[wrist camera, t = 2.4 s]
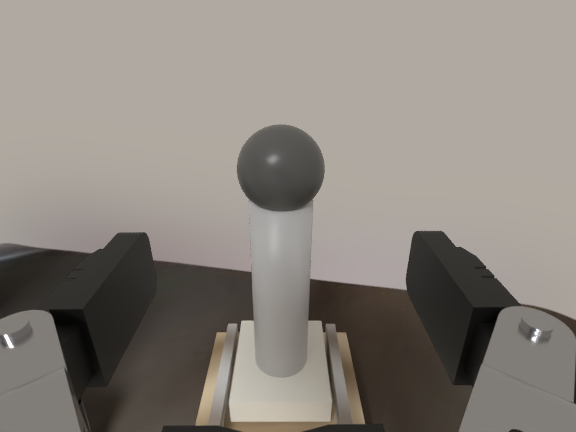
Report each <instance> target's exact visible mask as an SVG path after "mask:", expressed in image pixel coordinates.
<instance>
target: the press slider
mask: <svg viewBox="0 0 576 432" xmlns="http://www.w3.org/2000/svg"><path fill="white" fill-rule="evenodd" d="M324 172H325V171H324V159H323V156H322V153H321V150H320V149H319V147H318V145H317V144H316V142H315V141H314V140H313V138H312V137H310V136H309V135H308V134H307V133H306V132H304V131H303V130H301V129H299V128H296V127H293V126H290V125H272V126H268V127H265V128H263V129H261V130H259V131H257V132H256V133H254V134H253V135H252V136H251V137H250V138H249V139H248V140H247V141H246V143H245V144H244V146H243V147H242V149H241V152H240V154H239V157H238V163H237V174H238V180H239V183H240V186H241V188H242V190H243V192H244V193H245V195H246V196H247V197H248V199H249V223H250V246H251V266H252V267H251V268H252V292H253V315H254V321H242V322H241V328H240V335H239V341H238V347H237V354H236V360H235V367H234V373H233V380H232V386H231V392H230V399H229V408H230V419H231V422H330V420H331V408H332V398H331V391H330V383H329V375H328V368H327V360H326V352H325V345H324V337H323V329H322V322H321V321H308V316H309V291H310V266H311V265H310V264H311V241H312V217H313V198H314V197H315V195H316V194H317V193H318V191H319V189H320V187H321V185H322V182H323V178H324Z"/></svg>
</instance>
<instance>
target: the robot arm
mask: <svg viewBox="0 0 576 432" xmlns="http://www.w3.org/2000/svg"><path fill="white" fill-rule="evenodd" d="M406 286H407V292H408V295H409V297H410V299H411V301H412V303H413V305H414V307H415V309H416V311H417V313H418V315H419V317H420V319H421V321H422V323H423V325H424V327H425V329H426V332H427V334H428V336H429V338H430V340H431V342H432V344H433V346H434V348H435V350H436V352H437V354H438V356H439V358H440V360H441V362H442V364H443V366H444V368H445V370H446V372H447V374H448V376H449V378H450V380H451V382H452V384H453V385H472V387H473V390H472V393H471V396H470V399H469V402H468V405H467V408H466V411H465V414H464V417H463V420H462V423H461V426H460V429H459V432H576V338H575V335H574V334H573V332H572V331H571V330H570V328H569V327H568V326H566V325H565V324H564V323H563V322H561V321H560V320H558V319H557V318H555V317H553V316H552V315H549V314H547V313H545V312H542V311H540V310H537V309H533V308H529V307H522V306H521V305H520V304H519V303H518V302H517V300H516V299H515V298H514V297H513V296H512V295H511V294H510V293H509V292H508V291H507V289H506V288H505V287H504V286H503V285H502V284H501V283H500V282H499V281H498V280H497V279H496V278H494V275H493V274H492V273H491V272H490V271H489V270H488V269H486V266H485V265H484V264H483V263H482V262H481V261H480V260H479V259H478V258H477V257H476V256H475V255H473V254H472V253H470V252H468V251H467V250H465V249H463V248H461V247H456V246H455V245H454V244H453V243H452V242H451V240H450V239H449V238H448V237H447V236H446V235H445V233H444V232H442V231H416V232H415V233H414V235H413V237H412V243H411V250H410V255H409V262H408V268H407V274H406ZM155 291H156V274H155V268H154V263H153V258H152V252H151V247H150V242H149V238H148V236H147V234H146V233H144V232H143V233H141V232H139V233H118V234H116V235H115V236H114V238H113V239H112V240H111V241H110V242H109V243H108V244H107V245H106V246H105V248H104V249H99V250H97V251H95V252H94V253H92V254H90V255H89V256H87V257H85V258H84V259H83V260H82V261H81V262H80V263H79V264H78V265H77V266H76V267H75V268H74V269H73V271H71V272H70V273H69V274H68V275H67V276H66V278H65V281H62V282H61V283H60V284H59V285H58V286H57V287H56V288H55V289H54V290H53V291H52V292H51V293H50V294H49V295H48V296H47V297H46V298H45V300H44V301H43V302H42V303H41V304H40V305H39V306H38V307H37V308H36V309H35V310H28V311H23V312H18V313H15V314H12V315H9V316H7V317H4V318H2V319H0V432H91V429H90V425H89V422H88V418H87V415H86V411H85V408H84V404H83V402H82V399H81V396H82V394H83V392H84V391H85V389H86V387H106V386H107V384H108V382H109V381H110V379H111V377H112V375H113V373H114V371H115V369H116V367H117V365H118V364H119V362H120V360H121V358H122V356H123V354H124V352H125V350H126V348H127V346H128V345H129V343H130V341H131V339H132V337H133V335H134V333H135V331H136V329H137V328H138V326H139V324H140V322H141V320H142V318H143V316H144V314H145V312H146V310H147V309H148V307H149V305H150V303H151V301H152V299H153V297H154V294H155ZM162 432H242V431H238V430H234V429H230V428H226V427H222V426H218V425H203V426H164V427H163V430H162ZM303 432H385V431H384V427H383V424H328V425H325V426H321V427H317V428H314V429H310V430H306V431H303Z"/></svg>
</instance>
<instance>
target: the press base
mask: <svg viewBox="0 0 576 432" xmlns="http://www.w3.org/2000/svg"><path fill="white" fill-rule="evenodd" d="M239 335H240V332H238V329H237V324H228V327H227V332H217V335H216V339H215V343H214V348H213V352H212V356H211V360H210V365H209V369H208V373H207V378H206V382H205V386H204V390H203V395H202V399H201V403H200V407H199V412H198V416H197V420H196V425H195V426H203V425H218V426H222V427H226V428H230V429H234V430H238V431H242V432H303V431H306V430H310V429H314V428H317V427H321V426H325V425H328V424H365V420H364V415H363V411H362V406H361V401H360V396H359V392H358V387H357V382H356V377H355V373H354V368H353V363H352V358H351V354H350V349H349V344H348V339H347V335H346V333H345V332H336V327H335V324H326V331H325V332H323V337H324V345H325V352H326V360H327V368H328V375H329V383H330V391H331V398H332V408H331V420H330V422H231V419H230V408H229V399H230V392H231V386H232V380H233V373H234V367H235V360H236V354H237V347H238V341H239Z"/></svg>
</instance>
